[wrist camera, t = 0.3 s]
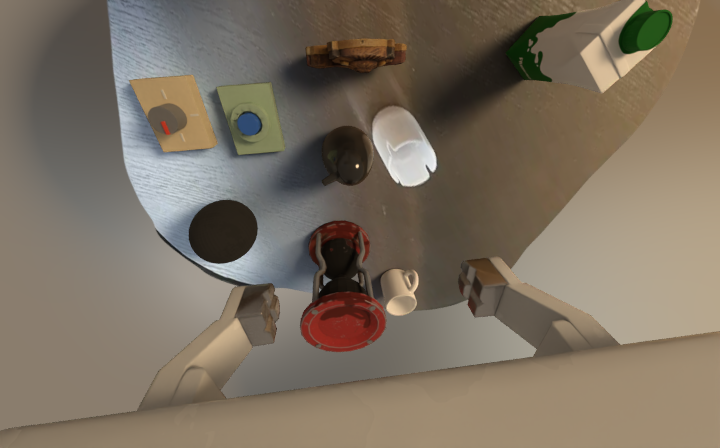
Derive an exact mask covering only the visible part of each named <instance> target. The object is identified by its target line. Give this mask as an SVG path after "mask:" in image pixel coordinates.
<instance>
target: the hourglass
mask: <svg viewBox="0 0 720 448" xmlns="http://www.w3.org/2000/svg"><path fill="white" fill-rule="evenodd" d="M369 253H370V241H369V238H368V235H367V233H366V232H365V231H364V230H363V229H362V228H361V227H360V226H358V225H356V224H354V223H351V222H347V221H333V222H329V223H326V224H324V225H322V226H321V227H319V228H318V229H316V231H315V232H314V233H313V234H312V236H311V238H310V242H309V255H310V257H311V259H312V260H313V262H314V263H315V264H317V265H318V266H319V271H317V272H316V273H315V275H314V281H313V298H312V303H311V304H310V305H309V306H308V307H307V308H306V309H305V310H304V312H303V315H302V318H301V323H300V328H301V334H302V336H303V337H304V339H305V340H306V341H307V342H308V343H310V344H311V345H313V346H314V347H316V348H319V349H322V350H325V351H332V352H347V351H353V350H357V349H361V348H363V347H365V346H367V345H370V344H372V343H373V342H374V341H375V340H377V339H378V338H379V337H380V336H381V335H382V333H383V332H384V330H385V328H386V321H387V320H386V315H385V312H384V309H383V307H382V305H381V304H380V303H379V302H378V301H377V300H376V299H374V297H373V291H372V286H371V280H370V274H369V272H368V271H367V270H366V269H364V268H363V267H362V263H363V262H364V261H365V260H366V259H367V257H368V255H369ZM357 273H358V278H359V283H358V282H356V281H354V280H352V279H351V278H353V277H354V276H355V275H356V274H357ZM362 273H363V274H362ZM323 274H324V275H325V276H327V277H328V278H329V279H331V280H332V281H330V282H328V283H327V284H326V285H325V286H324V285H323ZM363 275H364V279H365V285H366V291H367V294H366V291H365V289H364V288H363V287H362V286H363V283H364V281H363ZM319 288H320V289H322V290H321V291H320V293H319Z"/></svg>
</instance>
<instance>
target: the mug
mask: <svg viewBox="0 0 720 448" xmlns="http://www.w3.org/2000/svg"><path fill="white" fill-rule="evenodd" d="M410 274H412V275H413V284H412V286H411V284H410V281H409V279H408V275H410ZM418 281H419V280H418V275H417V273H416V272H415V271H414V270H407V271H405V272H404V271H403V270H400V269H391V270H388V271H386V272H385V273H384V274H383V275H382V277H381V287H382V292H383V296H384V300H385V305H386V309H387V311H388V312H389V313H390V314H392V315H397V316H400V315H405V314H408V313H410V312H411V311H413V310H414V309H415V307H416V305H417V301H416V298H415V295H414V293H413V292H414V291H415V290H416V288H417V286H418Z"/></svg>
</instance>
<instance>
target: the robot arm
mask: <svg viewBox="0 0 720 448" xmlns="http://www.w3.org/2000/svg"><path fill="white" fill-rule="evenodd" d="M461 269H462V272H461V273H460V274H459V278H458V284H459V289H460V292H461V293H462V295H463V297H465V298H466V299H468V300H469V301H468V306H469V308H470V310H471V312H472V313H473V315H474V317H485V316H495V317H496V318H497V319H499V320H500V321H501V322H503V323H504V324H505V325H506V326H508V327H509V328H510V329H512V330H513V331H514V332H515V333H517V334H518V335H520V336H521V337H522V338H523V339H525V340H526V341H527V342H528V343H530V344H531V345H532V346H534V347H535V348H536V349H537V350H536V352H535V354H534V356H533V357H528V358H521V359H513V360H506V361H499V362H491V363H484V364H477V365H470V366H463V367H455V368H448V369H440V370H434V371H426V372H419V373H411V374H404V375H397V376H390V377H382V378H375V379H367V380H361V381H353V382H346V383H338V384H331V385H325V386H316V387H309V388H302V389H294V390H287V391H281V392H273V393H265V394H258V395H251V396H243V397H236V398H229V399H227V398H226V397H225V396H224V394H223V393H222V392H221V389H222V388H223V386H224V385H225V383H226V382H227V381H228V380H229V378H230V377H231V375H232V374H233V373H234V372H235V370H236V369H237V368H238V367H239V365H240V364H241V363H242V361H243V360H244V359H245V357H246V356H247V354H248V353H249V352H250V351H251V349H252V348H253V346H259V345H265V344H272V343H274V340H275V335H276V330H277V328H276V325H275V322H276V321H277V320H278V319H279V314H280V305H279V300H278V297H277V296H276V295H274V291H275V288H274V286H273V284H272V283H268V284H257V285H247V286H238V287H234V288H233V289H232V291H231V293H230V296H229V298H228V301H227V303H226V306H225V308H224V310H223V313H222V315H221V317H220V320H217V321H215V322H214V323H212V324H211V325H210V326H209V327H208V328H207V329H206V330H204V331H203V332H202V333H201V334H200V335H199V336H198V337H196V338H195V339H194V340H193V341H192V342H191V343H190V344H189V345H187V346H186V347H185V348H184V349H183V350H182V351H181V352H180V353H178V354H177V355H176V356H175V357H174V358H173V359H172V360H170V361H169V362H168V363H167V364H166V365H165V366H164V367H163V368H162V369H160V370H159V371H158V373H157V374H156V376H155V378H154V380H153V382H152V384H151V386H150V388H149V389H148V391H147V393H146V395H145V397H144V398H143V400H142V402H141V404H140V406H139V408H138V410H137V411H133V412H127V413H118V414H111V415H104V416H96V417H89V418H82V419H74V420H68V421H60V422H52V423H45V424H37V425H29V426H21V427H14V428H9V429H5V430H1V431H0V448H720V331H719V332H711V333H704V334H696V335H689V336H681V337H674V338H667V339H659V340H652V341H645V342H638V343H630V344H623V345H620V344H619V343H618V342H617V341H616V340H615V339H614V338H613V337H612V336H611V335H610V334H609V333H608V332H607V331H606V330H605V329H604V328H603V327H602V326H601V325H600V324H599V323H598V322H597V321H596V320H595V319H594V318H593V317H592V316H591V315H589V314H587V313H585V312H583V311H581V310H579V309H577V308H575V307H573V306H571V305H569V304H567V303H565V302H563V301H561V300H559V299H557V298H555V297H553V296H551V295H549V294H547V293H545V292H543V291H541V290H539V289H537V288H535V287H533V286H531V285H529V284H527V283H521V281H520V280H519V279H518V278H517V277H516V276H515V274H514V273H513V272H512V271H511V270H510V268H509V267H508V266H507V265H506V264H505V263H504V261H503V260H502V259H501V258H500V257H498V256H495V257H488V258H480V259H472V260H464V261H463V262H462V263H461Z"/></svg>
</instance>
